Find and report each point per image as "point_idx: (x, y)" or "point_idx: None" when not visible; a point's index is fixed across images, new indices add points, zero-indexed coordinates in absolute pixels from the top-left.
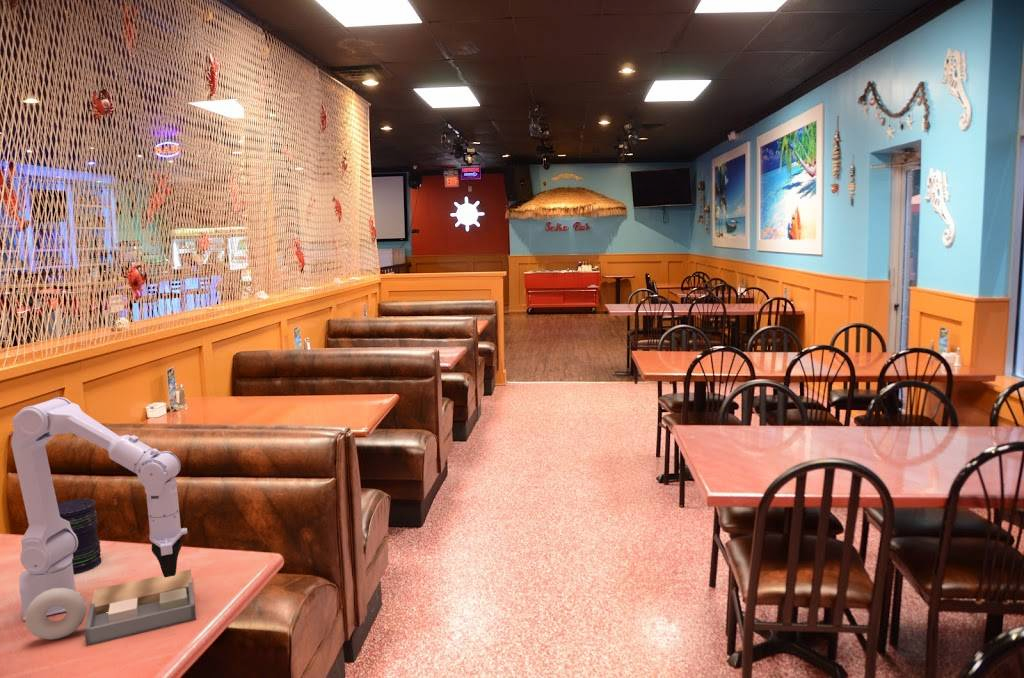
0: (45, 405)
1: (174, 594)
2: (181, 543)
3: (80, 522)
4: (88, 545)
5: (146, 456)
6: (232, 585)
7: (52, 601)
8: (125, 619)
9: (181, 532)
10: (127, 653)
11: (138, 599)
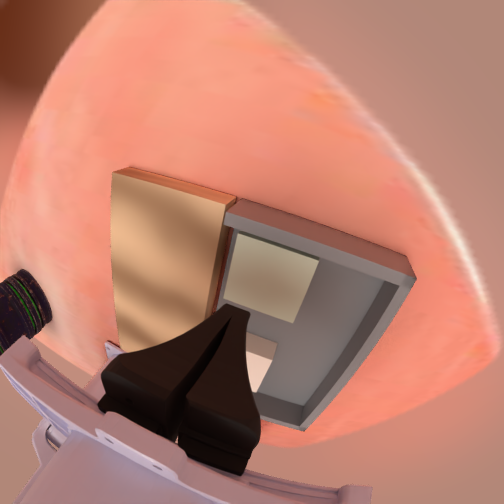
0: None
1: (264, 277)
2: (224, 419)
3: None
4: (15, 311)
5: None
6: (262, 79)
7: None
8: (325, 396)
9: (181, 479)
10: (400, 385)
11: None
